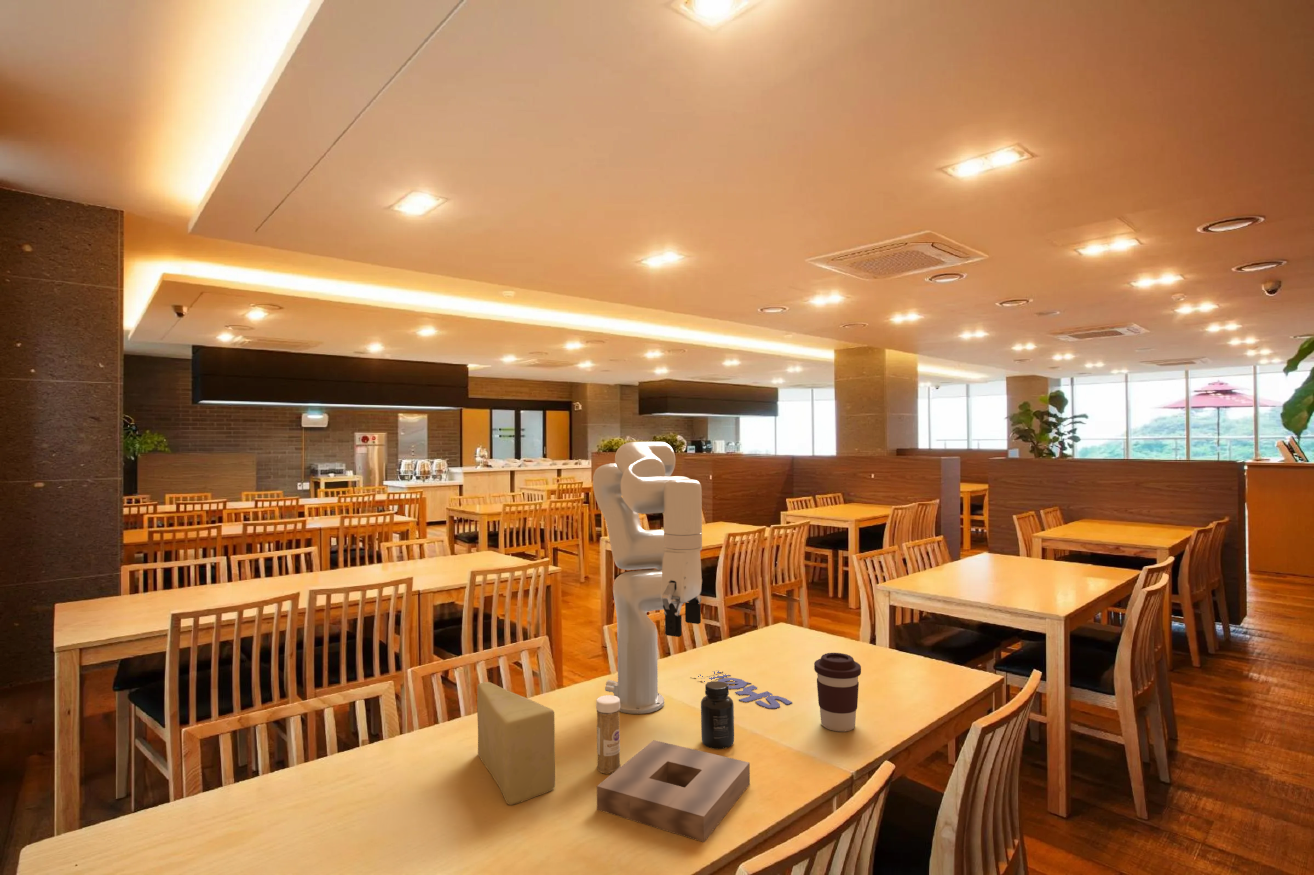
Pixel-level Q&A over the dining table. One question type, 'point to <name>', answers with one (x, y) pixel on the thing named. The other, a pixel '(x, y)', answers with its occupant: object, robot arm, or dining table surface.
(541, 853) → the dining table surface
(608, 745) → the sprinkles bottle
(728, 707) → the supplement bottle
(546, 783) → the cheese
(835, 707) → the coffee cup
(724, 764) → the walnut holder
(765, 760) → the dining table surface
